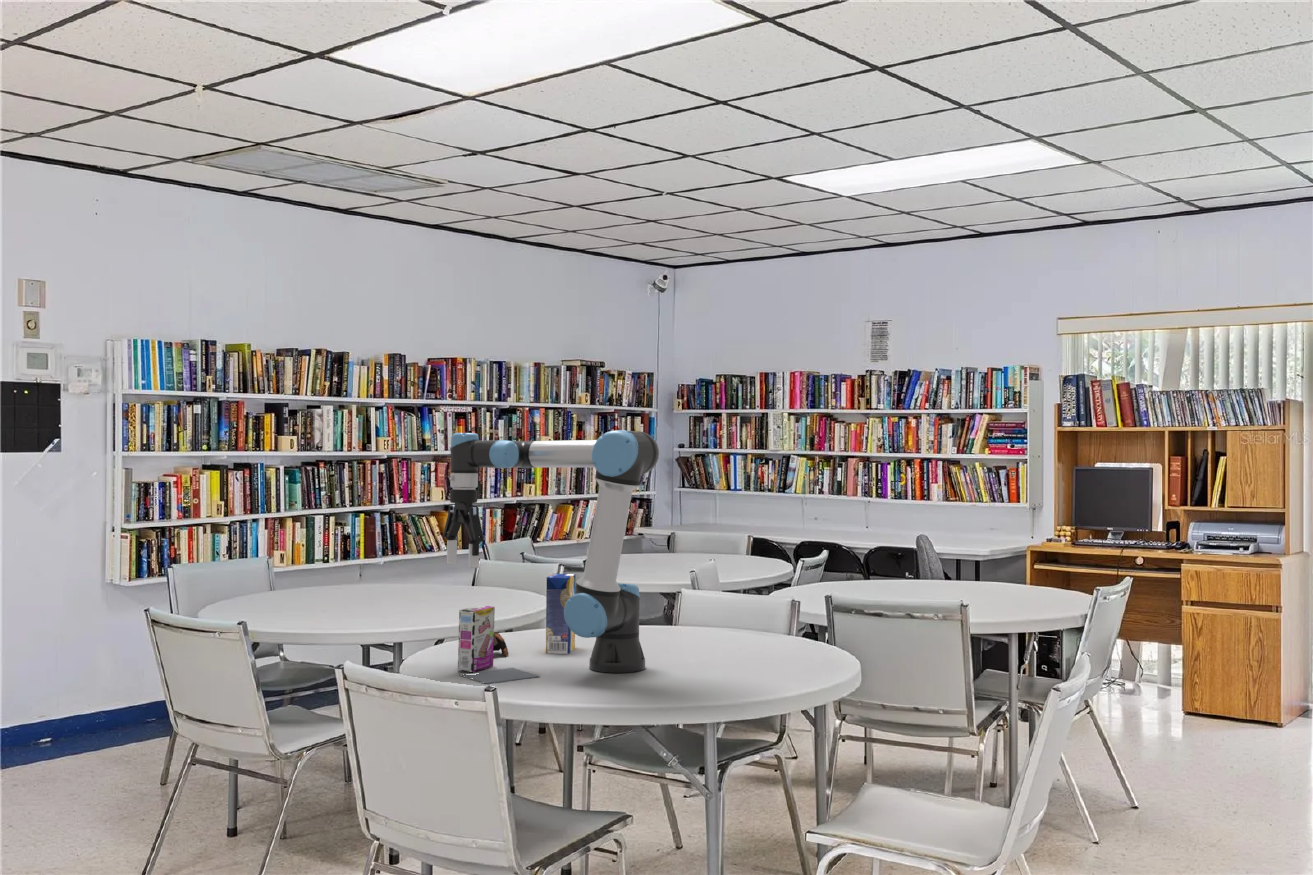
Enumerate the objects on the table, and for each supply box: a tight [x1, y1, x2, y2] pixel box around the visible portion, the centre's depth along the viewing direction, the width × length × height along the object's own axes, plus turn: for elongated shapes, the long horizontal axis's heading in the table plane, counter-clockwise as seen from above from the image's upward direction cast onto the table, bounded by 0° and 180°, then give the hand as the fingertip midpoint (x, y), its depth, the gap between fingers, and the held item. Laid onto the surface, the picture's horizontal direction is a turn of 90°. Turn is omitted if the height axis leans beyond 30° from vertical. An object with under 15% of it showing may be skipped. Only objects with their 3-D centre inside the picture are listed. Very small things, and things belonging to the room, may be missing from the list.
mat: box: [458, 667, 541, 685], centre depth 295 cm, size 14×16×1 cm
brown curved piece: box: [494, 631, 509, 658], centre depth 326 cm, size 12×10×8 cm
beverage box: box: [545, 573, 576, 655], centre depth 335 cm, size 7×11×22 cm, turn 175°
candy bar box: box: [457, 605, 496, 673], centre depth 305 cm, size 11×5×16 cm, turn 159°
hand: (462, 565), depth 313 cm, fingers open, 13 cm apart
